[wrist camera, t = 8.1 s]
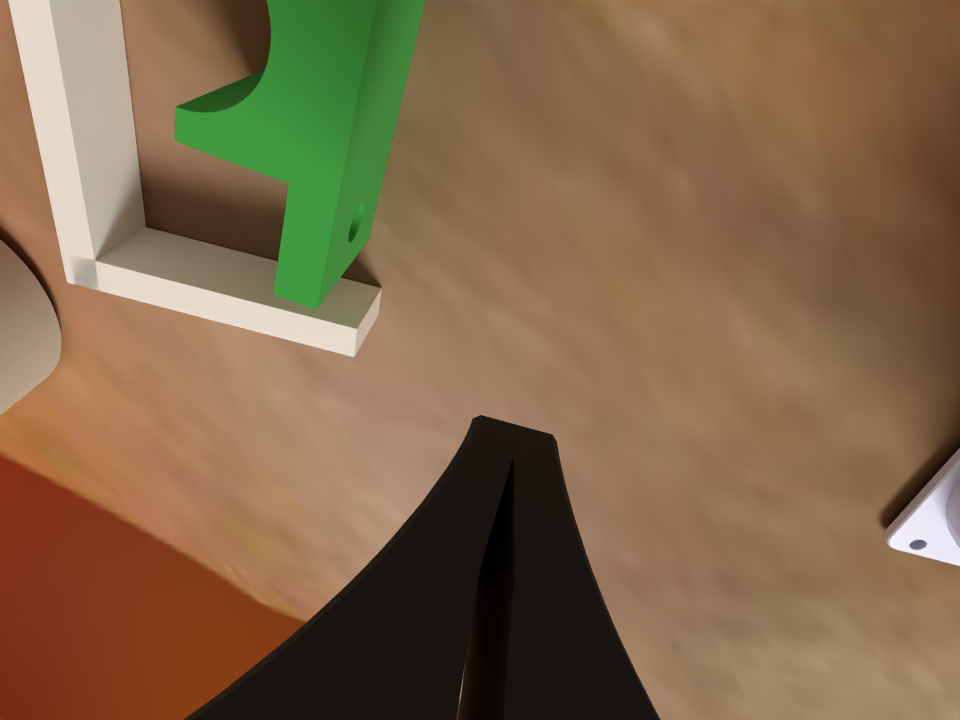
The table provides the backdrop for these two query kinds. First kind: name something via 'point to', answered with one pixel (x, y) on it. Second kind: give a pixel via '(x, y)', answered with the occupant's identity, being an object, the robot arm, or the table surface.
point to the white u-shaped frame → (118, 194)
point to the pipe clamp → (316, 127)
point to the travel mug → (24, 330)
